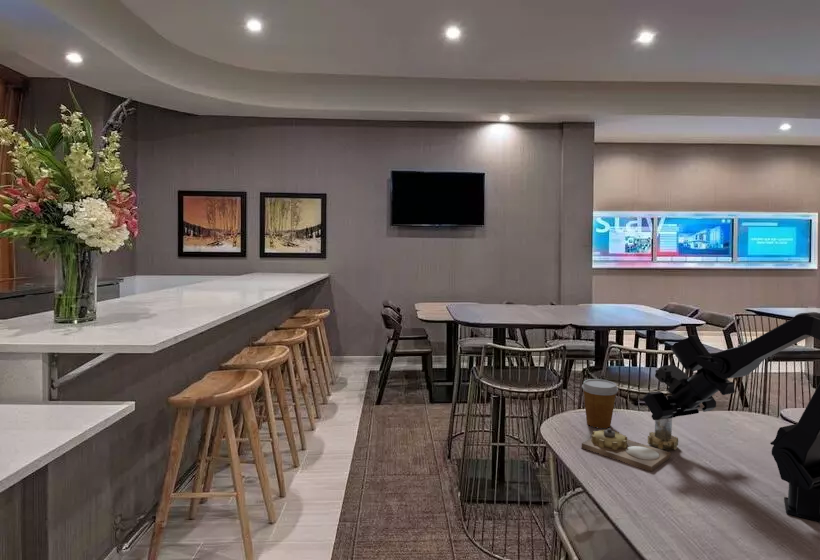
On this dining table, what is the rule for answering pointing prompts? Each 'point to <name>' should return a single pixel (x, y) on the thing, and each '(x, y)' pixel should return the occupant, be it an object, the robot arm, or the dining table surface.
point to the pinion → (663, 435)
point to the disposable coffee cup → (599, 402)
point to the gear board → (625, 449)
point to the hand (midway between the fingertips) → (658, 417)
